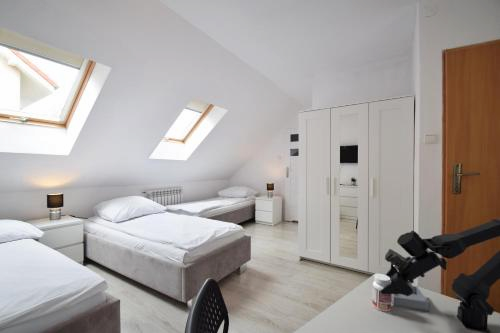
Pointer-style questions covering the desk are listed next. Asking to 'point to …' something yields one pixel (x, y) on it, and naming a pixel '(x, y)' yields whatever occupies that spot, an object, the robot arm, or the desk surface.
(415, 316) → the desk surface
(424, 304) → the slate tray
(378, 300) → the pill bottle
